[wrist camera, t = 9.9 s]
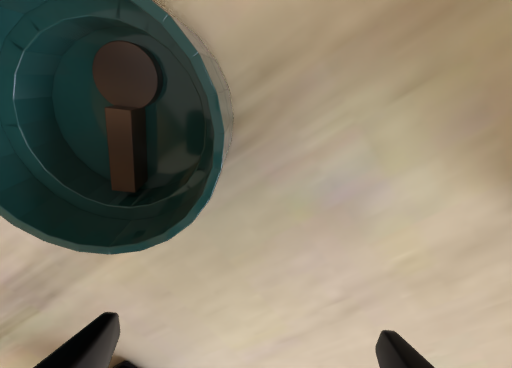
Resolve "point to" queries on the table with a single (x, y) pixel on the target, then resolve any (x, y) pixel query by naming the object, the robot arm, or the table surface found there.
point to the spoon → (127, 108)
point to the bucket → (104, 125)
